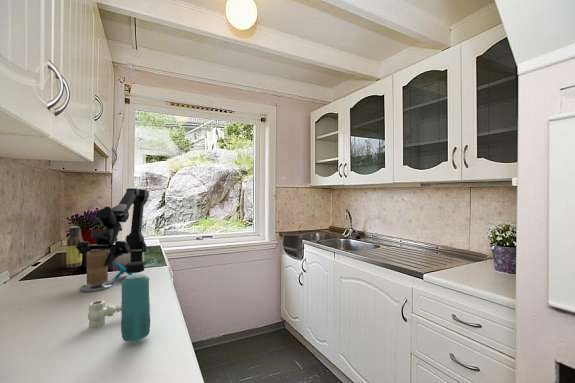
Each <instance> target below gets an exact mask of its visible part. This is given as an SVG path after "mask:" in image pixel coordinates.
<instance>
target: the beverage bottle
mask: <svg viewBox="0 0 575 383" xmlns="http://www.w3.org/2000/svg"><path fill="white" fill-rule="evenodd" d="M125 267H126V274H127V273H132V274H133V275H127V276H126V277H125V278H124V279H123V280H122V281H121V284H120V285H121V305H122V308H121V309H122V311H121V314H120V317H121V321H120V322H121V324H120V334H121V338H122V340H123V341H124V342H137V341H140V340H143V339H145V338H146V337H147V336H149V335H150V331H151V330H150V329H151V311H150V308H151V305H150V304H151V303H150V299H151V298H150V277H148V276H147V275H146V274H145V273H142V272H144V271H145V263H143V262H131V263H128V262H127V264H126V266H125Z"/></svg>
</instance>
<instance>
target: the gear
mask: <svg viewBox="0 0 575 383" xmlns="http://www.w3.org/2000/svg"><path fill="white" fill-rule="evenodd" d="M113 265H115V266H116V267H117V268H119V269H120V270H119V272H118V273H117V274H116V275H115V277H114V278H113V280H115V281H116V280H118V279H119V278H120V277H121V275H124V274H125V273H126V266H125V267H124V266H122V264H120V263H118V262H116V261H115V262H114V263H113ZM126 274H127V276H129V275H133V274H134V273H126Z"/></svg>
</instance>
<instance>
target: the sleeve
mask: <svg viewBox="0 0 575 383" xmlns="http://www.w3.org/2000/svg"><path fill="white" fill-rule="evenodd" d="M108 252H109V250H93V251H89V252H87V267H86V284H90V285H94V284H101V283H104V282H107V281H108V280H109V278H108V276H109V273H108V272H109V270H108V268H109V265H108V266H105V262H106V260H107V258H108V255H109V254H108Z"/></svg>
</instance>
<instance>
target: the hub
mask: <svg viewBox="0 0 575 383" xmlns="http://www.w3.org/2000/svg"><path fill="white" fill-rule="evenodd" d="M114 285H115V282H114V281H110V280H109V281H108V280H107V282H104V283H101V284H94V285H90V284H87V283H86V284H84V285H82V286H80V287H79V290H80V292H83V293H93V292H94V293H95V292H102V291H105V290H107V289H110V288H113V287H114Z"/></svg>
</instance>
